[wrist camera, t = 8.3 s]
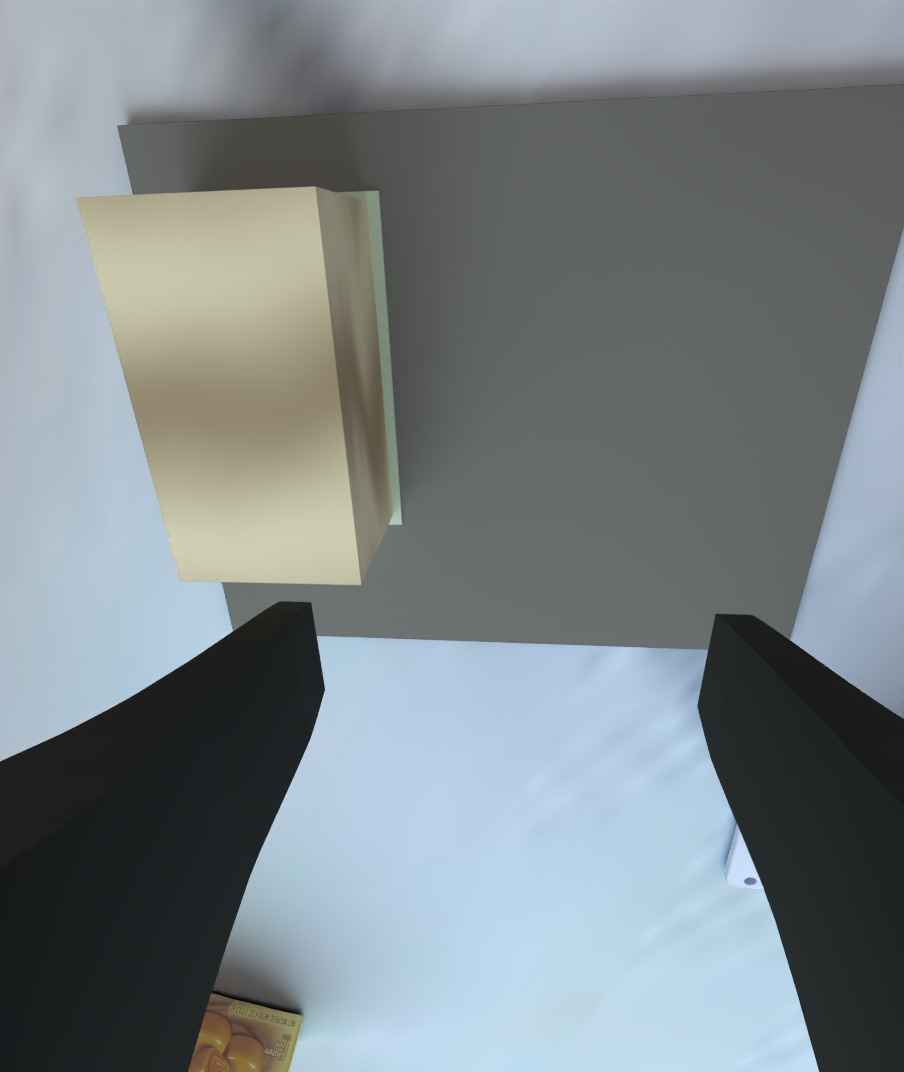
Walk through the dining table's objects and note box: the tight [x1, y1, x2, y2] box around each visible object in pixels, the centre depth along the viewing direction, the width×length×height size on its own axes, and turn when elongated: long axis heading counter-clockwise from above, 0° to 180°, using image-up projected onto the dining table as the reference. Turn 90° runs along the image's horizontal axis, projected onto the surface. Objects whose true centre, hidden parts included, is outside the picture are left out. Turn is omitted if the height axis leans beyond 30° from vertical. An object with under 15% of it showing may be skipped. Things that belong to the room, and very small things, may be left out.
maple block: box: [76, 186, 393, 585], centre depth 16 cm, size 9×5×4 cm, turn 2°
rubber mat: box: [117, 84, 904, 650], centre depth 18 cm, size 20×16×1 cm
